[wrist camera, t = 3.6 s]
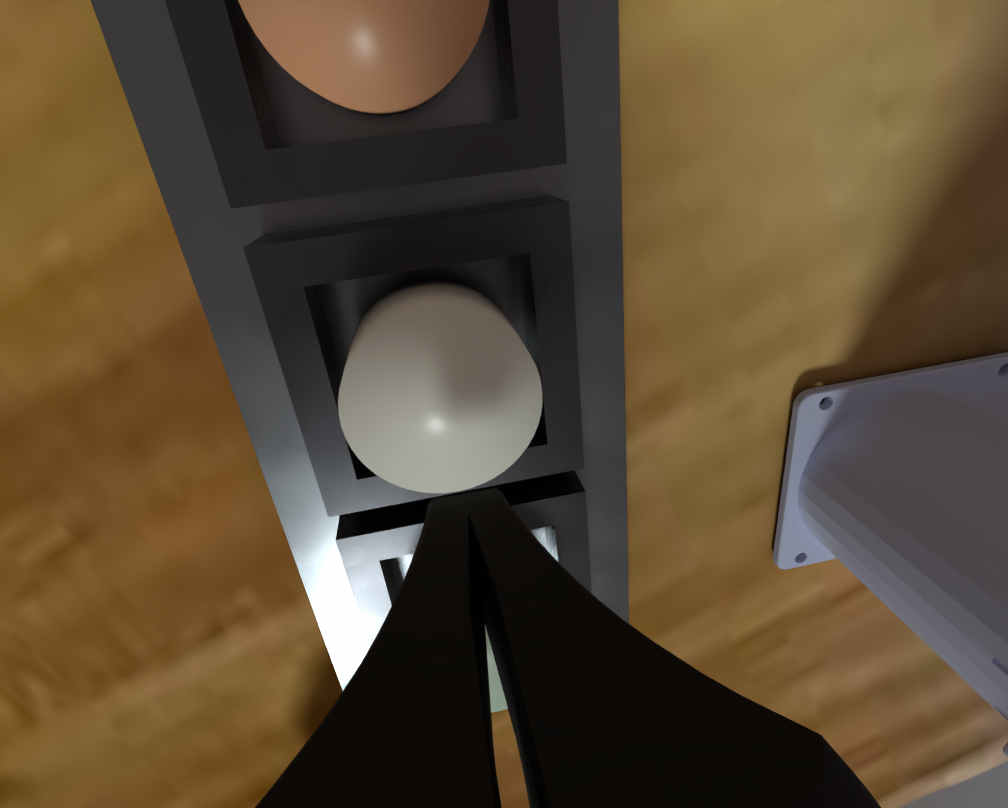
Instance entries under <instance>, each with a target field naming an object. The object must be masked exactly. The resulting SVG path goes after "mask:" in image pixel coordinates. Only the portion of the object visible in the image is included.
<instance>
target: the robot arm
mask: <svg viewBox="0 0 1008 808" xmlns="http://www.w3.org/2000/svg"><path fill="white" fill-rule="evenodd" d="M825 397H826V398H825ZM823 398H825V400H824V402H823V403H822V404H820V402H821V400H822V399H823ZM819 404H820V405H819ZM836 558H837V559H838V560H839V561H840V562H841V563H842V564H843V565H844V566H845V567H846V568H847V569H848V570H849V571H850V572H852V573H853V574H854V575H855V576H856V577H857V578H858V579H859V580H860V581H861V582H862V583H863V584H864V585H865V586H866V587H867V588H868V589H869V590H870V591H871V592H873V593H874V594H875V595H876V596H877V597H878V598H879V599H880V600H881V601H882V602H883V603H884V604H885V605H886V606H887V607H888V608H889V609H890V610H891V611H892V612H893V613H895V614H896V615H897V616H898V617H899V618H900V619H901V620H902V621H903V622H904V623H905V624H906V625H907V626H908V627H909V628H910V629H911V630H912V631H913V632H914V633H916V634H917V635H918V636H919V637H920V638H921V639H922V640H923V641H924V642H925V643H926V644H927V645H928V646H929V647H930V648H931V649H932V650H933V651H934V652H935V653H936V654H938V655H939V656H940V657H941V658H942V659H943V660H944V661H945V662H946V663H947V664H948V665H949V666H950V667H951V668H952V669H953V670H954V671H955V672H956V673H957V674H959V675H960V676H961V677H962V678H963V679H964V680H965V681H966V682H967V683H968V684H969V685H970V686H971V687H972V688H973V689H974V690H975V691H976V692H977V693H978V694H979V695H981V696H982V697H983V698H984V699H985V700H986V701H987V702H988V703H989V704H990V705H991V706H992V707H993V708H994V709H995V710H996V711H997V712H998V713H999V714H1000V715H1002V716H1003V717H1004V718H1005V719H1006V720H1007V721H1008V352H1005V353H1000V354H995V355H989V356H984V357H978V358H973V359H968V360H962V361H957V362H951V363H946V364H941V365H935V366H930V367H924V368H919V369H913V370H908V371H903V372H897V373H892V374H886V375H881V376H876V377H870V378H865V379H859V380H854V381H849V382H843V383H838V384H832V385H827V386H822V387H816V388H811V389H807V390H804V391H802V392H801V393H800V394H798V396H797V397H796V398H795V400H794V403H793V410H792V417H791V425H790V432H789V440H788V447H787V455H786V462H785V470H784V477H783V485H782V492H781V500H780V507H779V514H778V522H777V529H776V537H775V544H774V552H773V561H774V562H775V563H776V565H777V566H778V567H779V568H781V569H791V568H795V567H800V566H804V565H809V564H813V563H818V562H822V561H827V560H832V559H836ZM485 626H486V630H487V633H488V637H489V641H490V644H491V648H492V652H493V655H494V659H495V663H496V666H497V670H498V674H499V677H500V681H501V685H502V688H503V692H504V696H505V700H506V703H507V707H508V711H509V714H510V718H511V722H512V725H513V729H514V733H515V736H516V740H517V745H518V749H519V753H520V758H521V762H522V767H523V772H524V777H525V783H526V788H527V794H528V799H529V805H530V808H881V807H880V806H879V804H878V803H877V802H876V800H875V799H874V797H873V796H872V795H871V793H870V792H869V791H868V790H867V788H866V787H865V786H864V785H863V783H862V782H861V781H860V780H859V779H858V777H857V776H856V775H855V774H854V772H853V771H852V770H851V769H850V768H849V767H848V765H847V764H846V763H845V762H844V761H843V760H842V759H841V757H840V756H839V755H838V754H837V753H836V752H835V751H834V749H833V748H832V747H831V746H830V745H829V744H828V743H827V741H826V740H825V739H824V738H823V737H822V736H821V735H820V734H818V733H816V732H814V731H812V730H810V729H808V728H806V727H804V726H802V725H800V724H798V723H796V722H794V721H792V720H790V719H788V718H786V717H784V716H782V715H780V714H778V713H775V712H773V711H771V710H769V709H767V708H765V707H763V706H761V705H759V704H757V703H755V702H753V701H751V700H749V699H747V698H745V697H743V696H741V695H739V694H738V693H736V692H734V691H732V690H730V689H729V688H727V687H725V686H723V685H722V684H720V683H718V682H716V681H715V680H713V679H711V678H709V677H708V676H706V675H704V674H702V673H701V672H699V671H698V670H696V669H695V668H693V667H692V666H690V665H689V664H687V663H686V662H684V661H682V660H681V659H679V658H678V657H676V656H675V655H673V654H672V653H670V652H669V651H667V650H666V649H664V648H663V647H661V646H660V645H658V644H656V643H655V642H653V641H652V640H650V639H649V638H647V637H646V636H645V635H643V634H642V633H641V632H639V631H638V630H637V629H635V628H634V627H633V626H631V625H630V624H629V623H627V622H626V621H625V620H623V619H622V618H621V617H619V616H618V615H617V614H616V613H614V612H613V611H612V610H611V609H609V608H608V607H607V606H606V605H604V604H603V603H602V602H601V601H600V600H598V599H597V598H596V597H595V596H594V595H593V594H591V593H590V592H589V591H588V590H587V589H586V588H585V587H584V586H583V585H581V584H580V583H579V582H578V581H577V580H576V579H575V578H574V577H573V576H572V575H571V574H570V573H569V572H568V571H567V570H566V569H565V568H564V567H563V566H562V565H561V564H560V563H559V562H558V561H557V560H556V559H555V558H554V557H553V556H552V555H551V554H550V553H549V552H548V551H547V549H546V548H545V547H544V546H543V545H542V544H541V543H540V542H539V541H538V540H537V538H536V537H535V536H534V535H533V534H532V533H531V531H530V530H529V529H528V528H527V527H526V525H525V524H524V523H523V522H522V520H521V519H520V518H519V516H518V515H517V514H516V512H515V511H514V510H513V508H512V507H511V505H510V504H509V502H508V501H507V499H506V498H505V496H504V494H503V492H501V491H500V490H499V489H497V488H492V489H487V490H481V491H475V492H469V493H464V494H458V495H452V496H446V497H441V498H435V499H432V500H431V501H430V503H429V504H428V505H427V512H426V517H425V521H424V525H423V528H422V532H421V535H420V538H419V541H418V544H417V547H416V550H415V552H414V555H413V558H412V560H411V563H410V565H409V568H408V571H407V573H406V576H405V578H404V580H403V583H402V585H401V587H400V589H399V591H398V593H397V596H396V598H395V600H394V602H393V604H392V606H391V608H390V610H389V612H388V615H387V617H386V619H385V621H384V623H383V624H382V626H381V628H380V630H379V632H378V634H377V636H376V637H375V639H374V641H373V643H372V645H371V646H370V648H369V650H368V652H367V653H366V655H365V657H364V658H363V660H362V662H361V663H360V665H359V667H358V668H357V670H356V672H355V673H354V675H353V676H352V678H351V679H350V681H349V682H348V684H347V685H346V687H345V688H344V690H343V692H342V693H341V695H340V696H339V698H338V699H337V701H336V702H335V704H334V705H333V707H332V708H331V710H330V711H329V713H328V714H327V715H326V717H325V718H324V720H323V721H322V722H321V724H320V725H319V727H318V728H317V729H316V731H315V732H314V733H313V735H312V736H311V737H310V739H309V740H308V741H307V742H306V744H305V745H304V746H303V748H302V749H301V750H300V752H299V753H298V754H297V755H296V757H295V758H294V759H293V761H292V762H291V763H290V764H289V766H288V767H287V768H286V770H285V771H284V772H283V774H282V775H281V776H280V777H279V779H278V780H277V781H276V783H275V784H274V785H273V786H272V788H271V789H270V790H269V791H268V792H267V794H266V795H265V796H264V797H263V799H262V800H261V801H260V802H259V803H258V805H257V806H256V807H255V808H501V801H500V794H499V788H498V781H497V774H496V766H495V757H494V747H493V735H492V720H491V705H490V690H489V675H488V660H487V645H486V630H485ZM1003 753H1004V754H1005V755H1006V756H1007V757H1008V743H1007V744H1006V745H1005V746H1004V748H1003Z"/></svg>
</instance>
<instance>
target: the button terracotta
mask: <svg viewBox="0 0 1008 808" xmlns="http://www.w3.org/2000/svg"><path fill="white" fill-rule="evenodd" d="M238 1H239V3H240V6H241V8H242V10H243V12H244V15H245V17H246V18H247V20H248V22H249V24H250V25H251V27H252V29H253V31H254V32H255V34H256V36H257V37H258V38H259V40H260V41H261V43H262V44H263V45H264V47H265V48H266V50H267V51H268V52H269V53H270V54H271V55H272V57H273V58H274V59H275V60H276V61H277V62H278V63H279V64H280V66H281V67H283V68H284V69H285V70H286V71H287V72H288V73H289V74H290V75H291V76H293V77H294V78H295V79H296V80H297V81H299V82H300V83H302V84H303V85H304V86H306V87H307V88H309V89H310V90H312V91H313V92H315V93H317V94H319V95H320V96H322V97H324V98H325V99H327V100H329V101H331V102H333V103H334V104H336V105H338V106H340V107H343V108H345V109H348V110H350V111H353V112H357V113H361V114H366V115H375V116H387V115H396V114H401V113H405V112H408V111H411V110H414V109H416V108H418V107H420V106H422V105H424V104H426V103H427V102H429V101H430V100H431V99H433V98H434V97H435V96H437V95H438V94H439V93H440V92H441V91H442V90H443V89H444V88H445V87H446V86H447V85H448V84H449V83H450V81H451V80H452V79H453V78H454V76H455V75H456V74H457V73H458V71H459V70H460V69H461V67H462V66H463V65H464V63H465V62H466V61H467V59H468V58H469V56H470V54H471V52H472V51H473V49H474V47H475V45H476V43H477V41H478V38H479V36H480V34H481V31H482V29H483V25H484V22H485V18H486V15H487V11H488V6H489V0H238Z"/></svg>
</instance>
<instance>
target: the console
mask: <svg viewBox="0 0 1008 808" xmlns="http://www.w3.org/2000/svg"><path fill="white" fill-rule="evenodd" d="M91 2H92V5H93V8H94V11H95V13H96V16H97V19H98V22H99V24H100V27H101V30H102V33H103V35H104V38H105V41H106V44H107V46H108V49H109V52H110V55H111V57H112V60H113V63H114V65H115V68H116V71H117V74H118V76H119V79H120V82H121V85H122V87H123V90H124V93H125V96H126V98H127V101H128V104H129V107H130V109H131V112H132V115H133V118H134V120H135V123H136V126H137V129H138V131H139V134H140V137H141V139H142V142H143V145H144V148H145V150H146V153H147V156H148V159H149V161H150V164H151V167H152V170H153V172H154V175H155V178H156V181H157V183H158V186H159V189H160V192H161V194H162V197H163V200H164V202H165V205H166V208H167V211H168V213H169V216H170V219H171V222H172V224H173V227H174V230H175V233H176V235H177V238H178V241H179V244H180V246H181V249H182V252H183V255H184V257H185V260H186V263H187V266H188V268H189V271H190V274H191V276H192V279H193V282H194V285H195V287H196V290H197V293H198V296H199V298H200V301H201V304H202V307H203V309H204V312H205V315H206V318H207V320H208V323H209V326H210V329H211V331H212V334H213V337H214V340H215V342H216V345H217V348H218V350H219V353H220V356H221V359H222V361H223V364H224V367H225V370H226V372H227V375H228V378H229V381H230V383H231V386H232V389H233V392H234V394H235V397H236V400H237V403H238V405H239V408H240V411H241V413H242V416H243V419H244V422H245V424H246V427H247V430H248V433H249V435H250V438H251V441H252V444H253V446H254V449H255V452H256V455H257V457H258V460H259V463H260V466H261V468H262V471H263V474H264V477H265V479H266V482H267V485H268V487H269V490H270V493H271V496H272V498H273V501H274V504H275V507H276V509H277V512H278V515H279V518H280V520H281V523H282V526H283V529H284V531H285V534H286V537H287V540H288V542H289V545H290V548H291V551H292V553H293V556H294V559H295V561H296V564H297V567H298V570H299V572H300V575H301V578H302V581H303V583H304V586H305V589H306V592H307V594H308V597H309V600H310V603H311V605H312V608H313V611H314V614H315V616H316V619H317V622H318V624H319V627H320V630H321V633H322V635H323V638H324V641H325V644H326V646H327V649H328V652H329V655H330V657H331V660H332V663H333V666H334V668H335V671H336V674H337V677H338V679H339V682H340V685H341V688H342V690H344V688H345V687H346V685H347V684H348V682H349V681H350V679H351V678H352V676H353V675H354V673H355V672H356V670H357V668H358V667H359V665H360V663H361V662H362V660H363V658H364V657H365V655H366V653H367V652H368V650H369V648H370V646H371V645H372V643H373V641H374V639H375V637H376V636H377V634H378V632H379V630H380V628H381V626H382V624H383V623H384V621H385V619H386V617H387V615H388V612H389V610H390V608H391V606H392V604H393V602H394V600H395V598H396V596H397V593H398V591H399V589H400V587H401V585H402V583H403V580H404V578H405V576H406V573H407V571H408V568H409V565H410V563H411V560H412V558H413V555H414V552H415V550H416V547H417V544H418V541H419V538H420V535H421V532H422V528H423V525H424V521H425V517H426V512H427V505H428V504H429V503H430V501H431V500H432V499H435V498H441V497H446V496H452V495H458V494H464V493H469V492H475V491H481V490H487V489H492V488H497V489H499V490H500V491H501V492H503V494H504V496H505V498H506V499H507V501H508V502H509V504H510V505H511V507H512V508H513V510H514V511H515V512H516V514H517V515H518V516H519V518H520V519H521V520H522V522H523V523H524V524H525V525H526V527H527V528H528V529H529V530H530V531H531V533H532V534H533V535H534V536H535V537H536V538H537V540H538V541H539V542H540V543H541V544H542V545H543V546H544V547H545V548H546V549H547V551H548V552H549V553H550V554H551V555H552V556H553V557H554V558H555V559H556V560H557V561H558V562H559V563H560V564H561V565H562V566H563V567H564V568H565V569H566V570H567V571H568V572H569V573H570V574H571V575H572V576H573V577H574V578H575V579H576V580H577V581H578V582H579V583H580V584H581V585H583V586H584V587H585V588H586V589H587V590H588V591H589V592H590V593H591V594H593V595H594V596H595V597H596V598H597V599H598V600H600V601H601V602H602V603H603V604H604V605H606V606H607V607H608V608H609V609H611V610H612V611H613V612H614V613H616V614H617V615H618V616H619V617H621V618H622V619H623V620H625V621H626V622H627V623H629V602H628V545H627V487H626V429H625V372H624V314H623V256H622V199H621V141H620V83H619V26H618V0H489V6H488V11H487V15H486V18H485V22H484V25H483V29H482V31H481V34H480V36H479V38H478V41H477V43H476V45H475V47H474V49H473V51H472V52H471V54H470V56H469V58H468V59H467V61H466V62H465V63H464V65H463V66H462V67H461V69H460V70H459V71H458V73H457V74H456V75H455V76H454V78H453V79H452V80H451V81H450V83H449V84H448V85H447V86H446V87H445V88H444V89H443V90H442V91H441V92H440V93H439V94H438V95H437V96H435V97H434V98H433V99H431V100H430V101H429V102H427V103H426V104H424V105H422V106H420V107H418V108H416V109H414V110H411V111H408V112H405V113H401V114H396V115H387V116H375V115H366V114H361V113H357V112H353V111H350V110H348V109H345V108H343V107H340V106H338V105H336V104H334V103H333V102H331V101H329V100H327V99H325V98H324V97H322V96H320V95H319V94H317V93H315V92H313V91H312V90H310V89H309V88H307V87H306V86H304V85H303V84H302V83H300V82H299V81H297V80H296V79H295V78H294V77H293V76H291V75H290V74H289V73H288V72H287V71H286V70H285V69H284V68H283V67H281V66H280V64H279V63H278V62H277V61H276V60H275V59H274V58H273V57H272V55H271V54H270V53H269V52H268V51H267V50H266V48H265V47H264V45H263V44H262V43H261V41H260V40H259V38H258V37H257V36H256V34H255V32H254V31H253V29H252V27H251V25H250V24H249V22H248V20H247V18H246V17H245V15H244V12H243V10H242V8H241V6H240V3H239V1H238V0H91ZM426 281H446V282H452V283H458V284H461V285H464V286H467V287H470V288H472V289H474V290H476V291H478V292H480V293H482V294H483V295H485V296H486V297H488V298H489V299H490V300H492V301H493V302H494V303H495V304H496V305H497V306H498V307H499V308H500V309H501V310H502V311H503V312H504V313H505V315H506V316H507V318H508V319H509V321H510V322H511V324H512V326H513V327H514V329H515V330H516V332H517V334H518V335H519V337H520V339H521V340H522V342H523V344H524V345H525V347H526V348H527V350H528V352H529V353H530V355H531V357H532V359H533V361H534V363H535V365H536V367H537V370H538V373H539V376H540V380H541V386H542V411H541V416H540V420H539V424H538V427H537V429H536V432H535V434H534V436H533V438H532V440H531V442H530V443H529V445H528V447H527V448H526V449H525V451H524V452H523V453H522V455H521V456H520V457H519V458H518V459H517V460H516V461H515V462H514V463H513V464H512V465H511V466H510V467H509V468H507V469H506V470H505V471H504V472H502V473H501V474H499V475H498V476H496V477H495V478H493V479H491V480H489V481H487V482H485V483H483V484H481V485H478V486H476V487H473V488H470V489H466V490H462V491H457V492H450V493H424V492H418V491H413V490H408V489H405V488H402V487H399V486H396V485H394V484H392V483H390V482H388V481H386V480H384V479H382V478H381V477H379V476H378V475H376V474H375V473H373V472H372V471H371V470H370V469H368V468H367V467H366V466H365V465H364V464H363V463H362V462H361V461H360V460H359V459H358V457H357V456H356V455H355V453H354V452H353V451H352V449H351V448H350V446H349V444H348V442H347V440H346V438H345V436H344V433H343V430H342V427H341V423H340V418H339V411H338V397H339V388H340V384H341V380H342V376H343V372H344V368H345V364H346V360H347V356H348V352H349V348H350V344H351V341H352V337H353V335H354V332H355V330H356V328H357V326H358V324H359V323H360V321H361V319H362V318H363V316H364V315H365V314H366V313H367V312H368V310H369V309H370V308H371V307H372V306H373V305H374V304H375V303H376V302H378V301H379V300H380V299H382V298H383V297H384V296H386V295H387V294H389V293H391V292H393V291H395V290H397V289H399V288H401V287H404V286H407V285H410V284H414V283H419V282H426Z"/></svg>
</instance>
